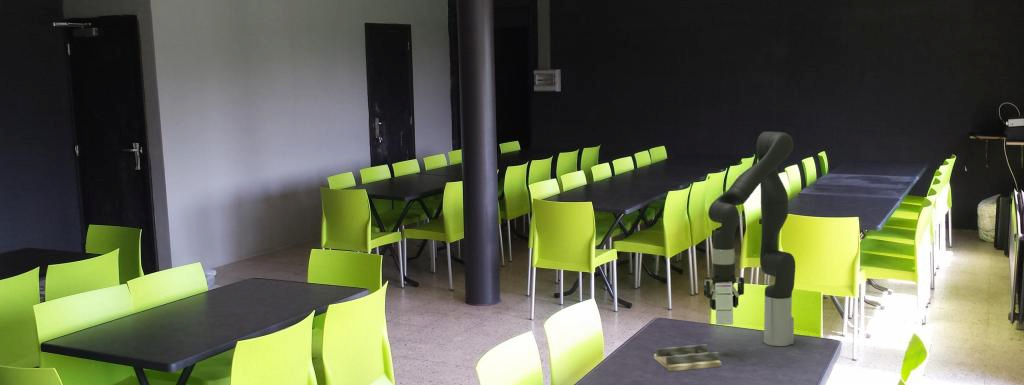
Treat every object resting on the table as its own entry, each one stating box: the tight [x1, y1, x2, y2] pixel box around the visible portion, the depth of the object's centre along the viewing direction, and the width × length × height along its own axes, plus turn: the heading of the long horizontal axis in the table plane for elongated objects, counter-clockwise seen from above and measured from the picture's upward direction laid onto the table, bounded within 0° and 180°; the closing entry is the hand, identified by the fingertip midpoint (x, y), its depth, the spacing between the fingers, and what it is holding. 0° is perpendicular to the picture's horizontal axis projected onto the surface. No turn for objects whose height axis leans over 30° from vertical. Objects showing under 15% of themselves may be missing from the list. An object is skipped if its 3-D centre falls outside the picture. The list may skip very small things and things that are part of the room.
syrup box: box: [715, 282, 734, 326], centre depth 304 cm, size 6×6×14 cm
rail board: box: [653, 343, 722, 372], centre depth 299 cm, size 18×14×4 cm
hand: (724, 308), depth 304 cm, fingers closed on syrup box, 7 cm apart
